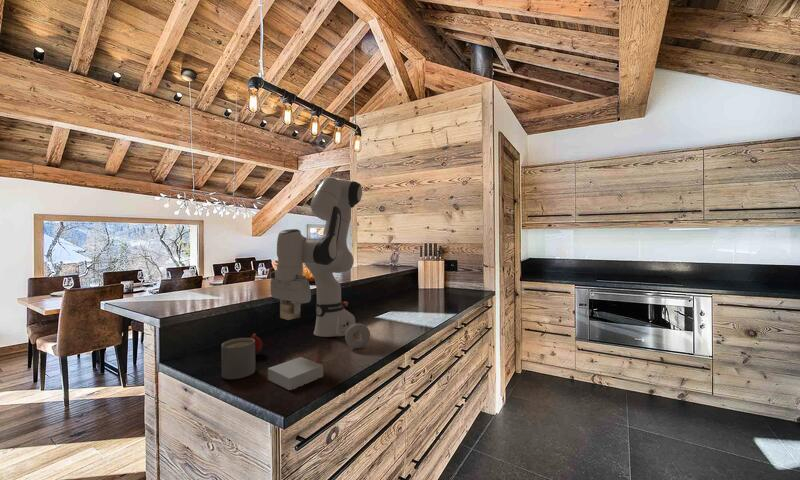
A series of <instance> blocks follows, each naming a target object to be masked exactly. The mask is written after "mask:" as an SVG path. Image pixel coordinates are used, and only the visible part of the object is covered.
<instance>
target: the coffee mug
mask: <svg viewBox="0 0 800 480" xmlns="http://www.w3.org/2000/svg"><path fill="white" fill-rule="evenodd" d="M220 348H221V349H220V350H221V351H220V355H221V377H222V378H223V379H225V380H237V379H238V380H239V379H243V378H245V377H248V376H251V375H253V374H254V373H255V372H256V355H255V340H254V339H252V338H251V337H239V338H238V337H237V338H233V339H229V340H227V341H224V342H223V343H221V347H220Z"/></svg>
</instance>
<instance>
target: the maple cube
mask: <svg viewBox="0 0 800 480" xmlns="http://www.w3.org/2000/svg"><path fill="white" fill-rule="evenodd" d="M294 306H295V305H294V302H292V301H287V303H283V304H281V303H279V318H280V319H284V320H287V321H289V320H293V319H294V320H295V319H299V318H301V307H300V308H299V314H296V315H295V314H292V309H294Z"/></svg>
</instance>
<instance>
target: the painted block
mask: <svg viewBox="0 0 800 480" xmlns="http://www.w3.org/2000/svg"><path fill="white" fill-rule="evenodd" d="M323 377H324V365H323V364H321V363H318V362H316V361H312V360H311V359H308V358H305V357H303V356H299V357H297V358H293V359H291V360H287V361H285V362H282V363H279V364H277V365H273V366H271V367H268V368H267V381H270V382H271V383H273V384H276V385H277V386H280V387H282V388H284V389H286V390H288V391H289V390H291V391H292V389H293V390H296V389H297V387H298V388H300V387H302V386H305V385H306V384H309V383H311V382H313V381H316V380H319V379H321V378H323ZM318 378H319V379H318ZM304 384H305V385H304ZM299 386H300V387H299Z"/></svg>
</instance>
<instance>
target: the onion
mask: <svg viewBox="0 0 800 480" xmlns="http://www.w3.org/2000/svg"><path fill="white" fill-rule="evenodd" d="M250 338H252V339H254V340H255V356H256V355H257V354H258V353H259V352H260V351H261V350H262V349H263V341H262V339H261V338H260V337H259V336H257V334H256V333H253V334H252V335H251V336H250Z"/></svg>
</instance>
